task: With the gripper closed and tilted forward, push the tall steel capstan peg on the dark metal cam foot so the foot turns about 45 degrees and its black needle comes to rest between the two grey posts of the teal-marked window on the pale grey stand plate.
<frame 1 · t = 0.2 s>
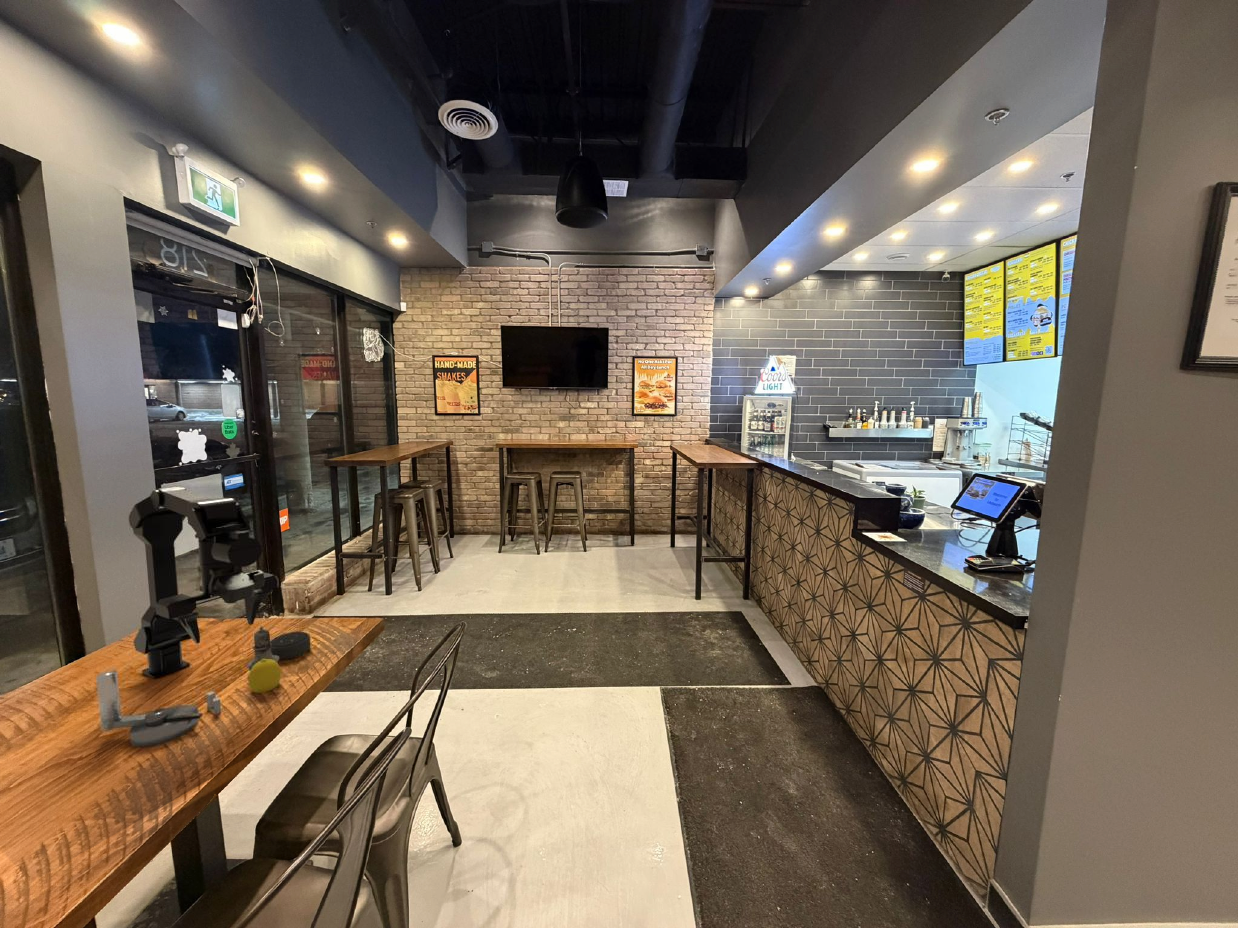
hand: (225, 633, 95), 15 cm above the table, tool pointing down, fingers open, 9 cm apart
smart speaker: (289, 654, 116), on the table
cam foot: (154, 700, 84), point 8 cm above the table, hinge at 0.0°
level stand: (158, 739, 84), on the table
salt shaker: (264, 676, 105), on the table
lemon: (266, 694, 99), on the table
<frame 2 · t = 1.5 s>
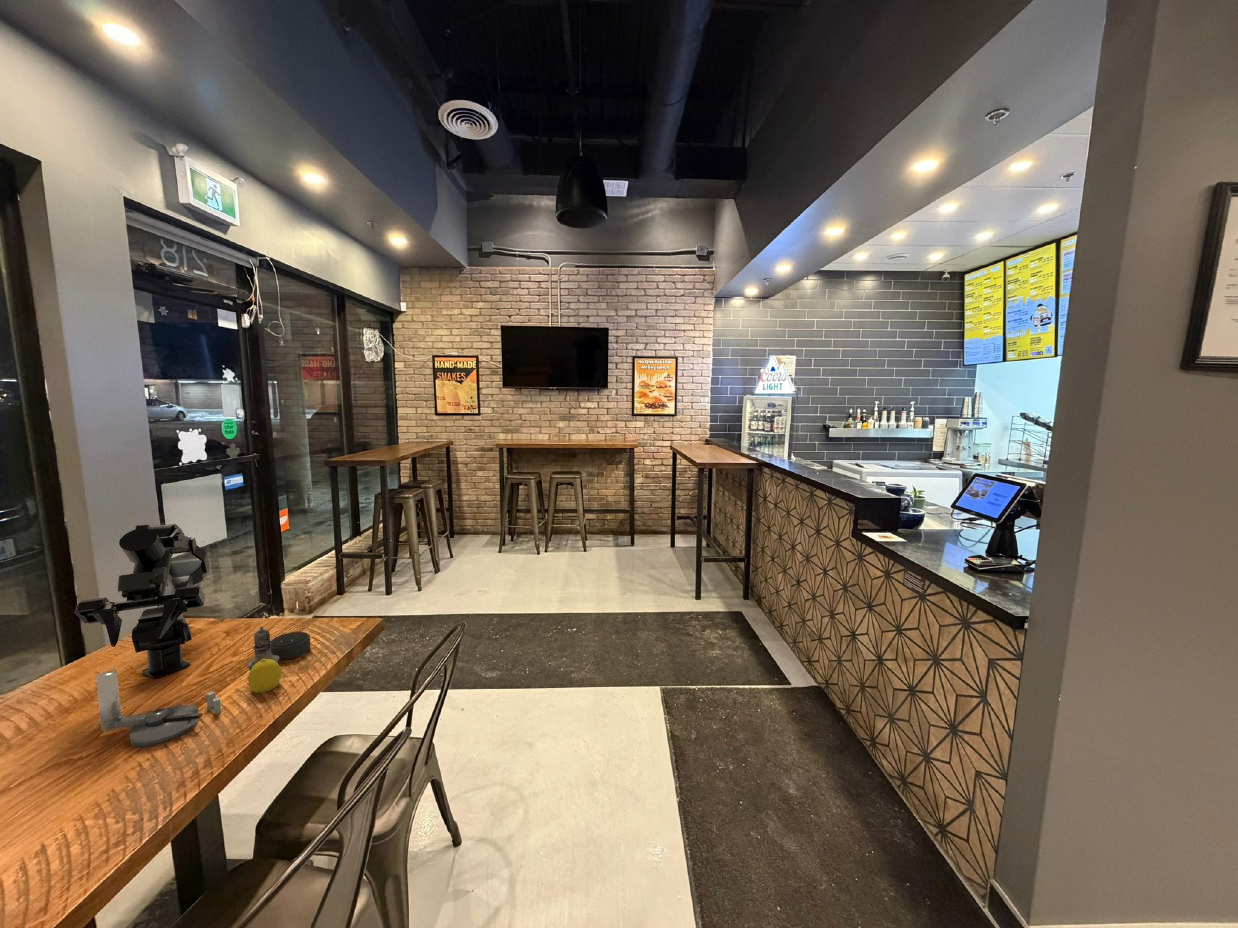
hand: (136, 641, 93), 14 cm above the table, tool tilted 45°, fingers open, 6 cm apart
nothing on the table moved.
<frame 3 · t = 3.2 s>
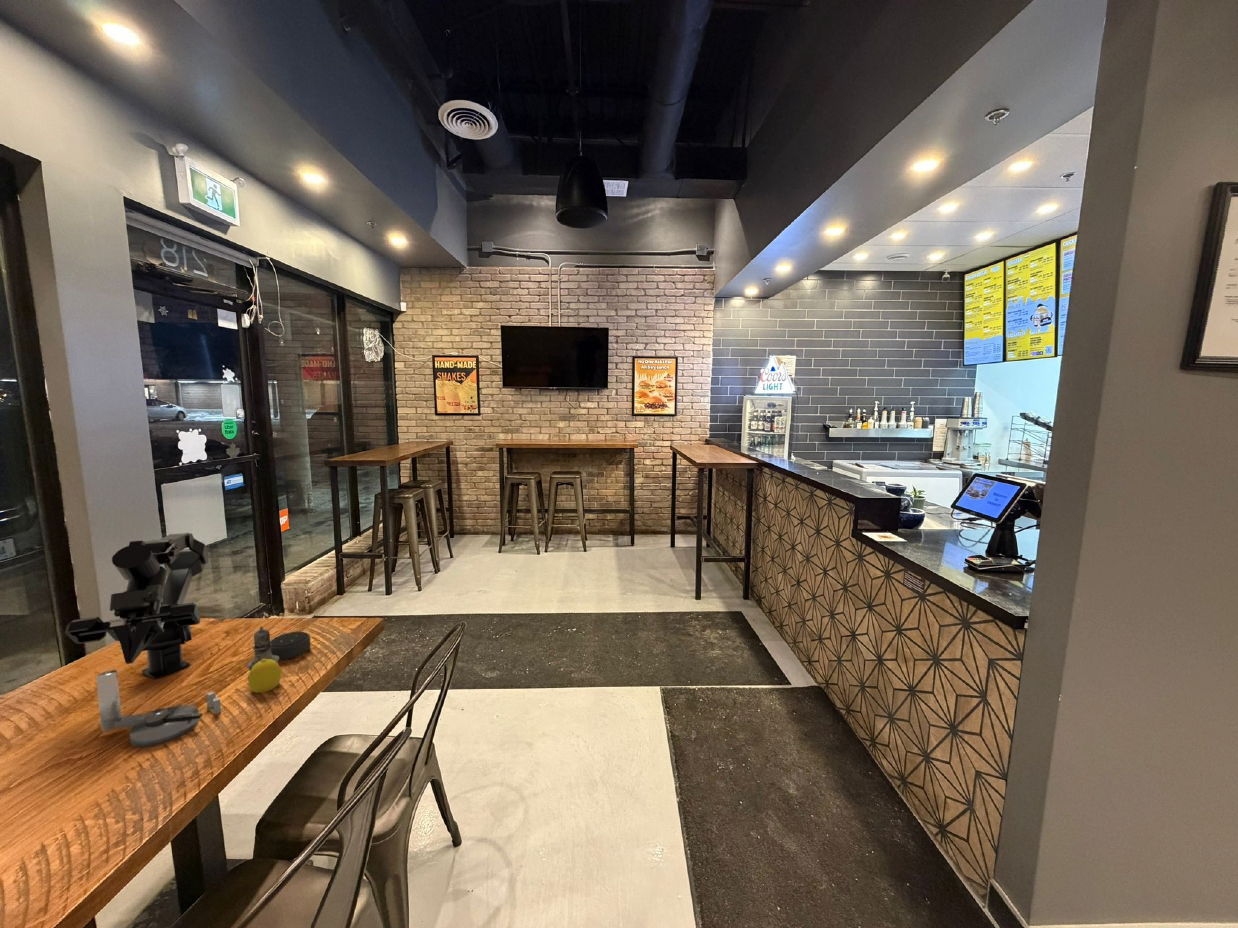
hand: (128, 662, 90), 11 cm above the table, tool tilted 45°, fingers closed
nothing on the table moved.
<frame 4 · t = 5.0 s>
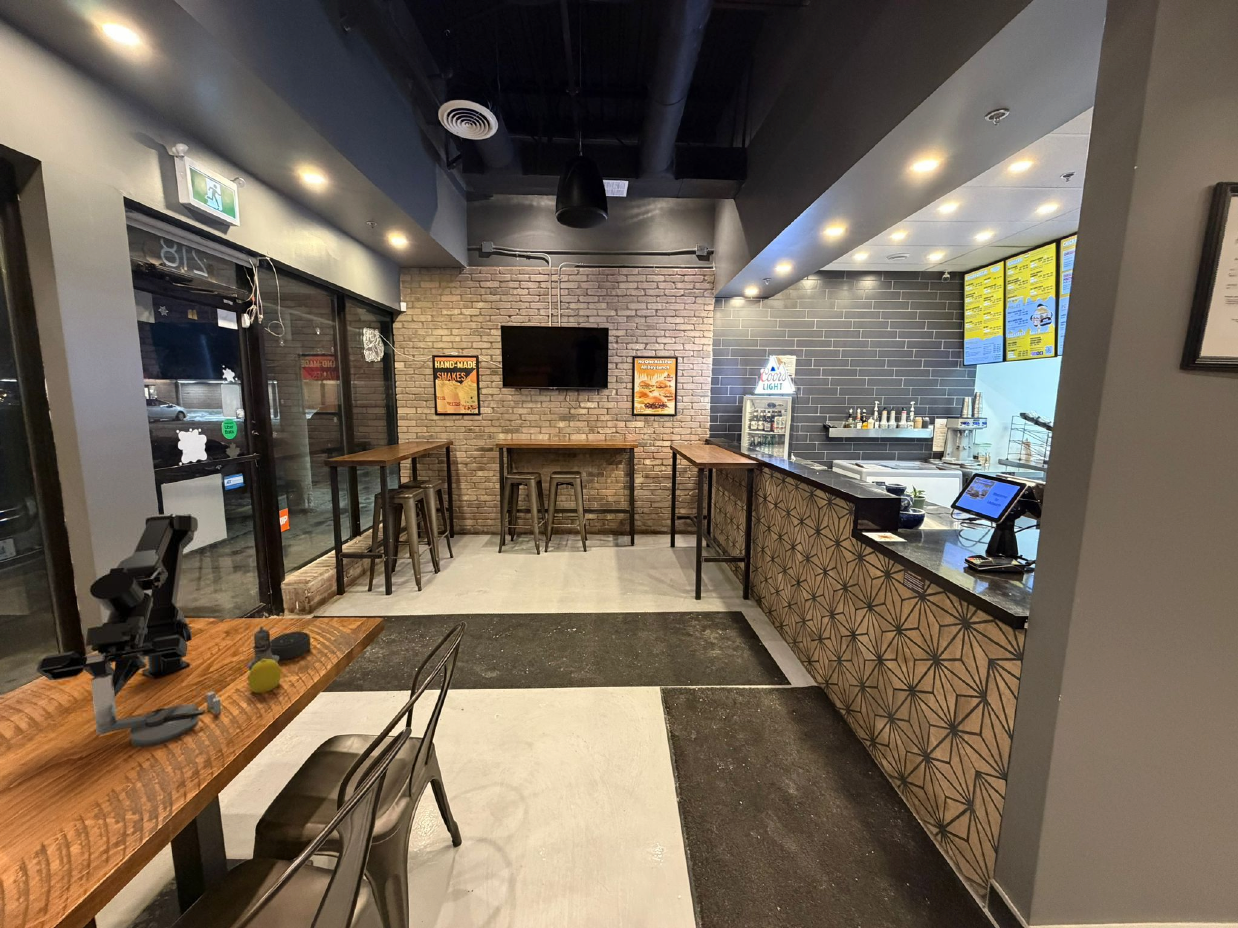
hand: (105, 703, 82), 8 cm above the table, tool tilted 45°, fingers closed, pressing on cam foot
cam foot: (153, 700, 84), point 7 cm above the table, hinge at 8.7°, touching gripper
everything else where it was.
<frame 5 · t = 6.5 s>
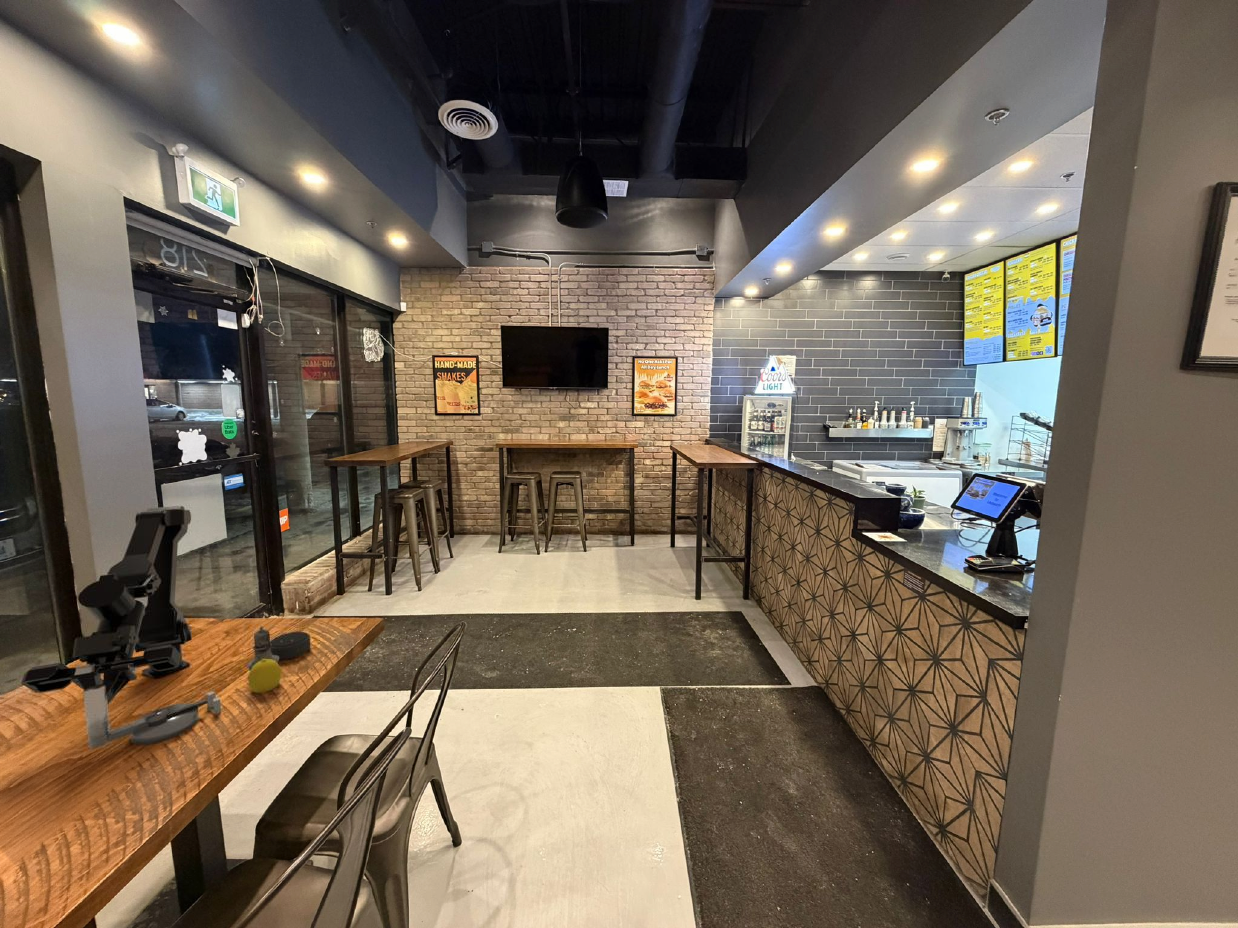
hand: (93, 717, 79), 8 cm above the table, tool tilted 45°, fingers closed
cam foot: (151, 701, 84), point 8 cm above the table, hinge at 43.9°, touching gripper
everything else where it was.
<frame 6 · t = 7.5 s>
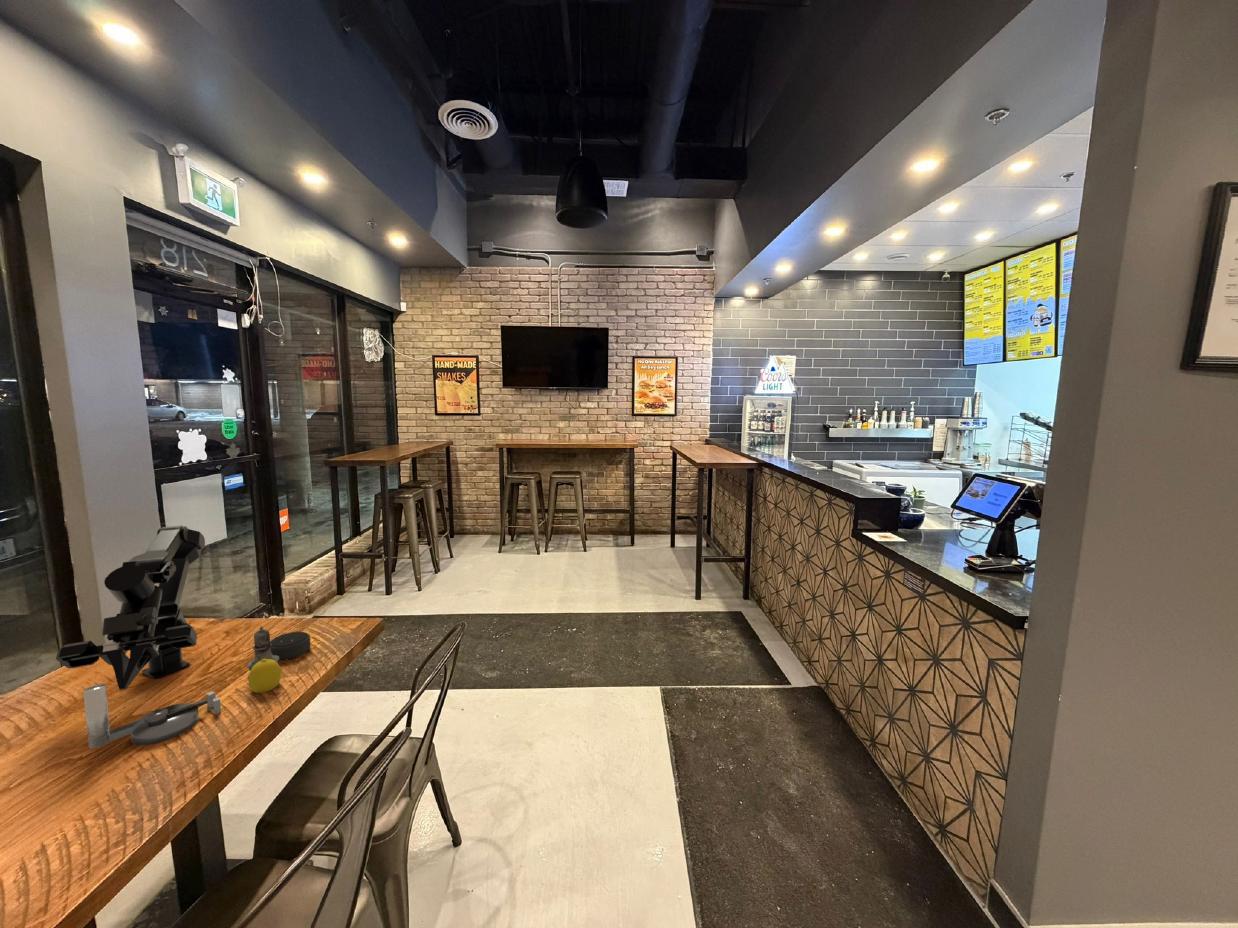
hand: (122, 688, 87), 8 cm above the table, tool tilted 45°, fingers closed
cam foot: (151, 701, 84), point 8 cm above the table, hinge at 44.0°
everything else where it was.
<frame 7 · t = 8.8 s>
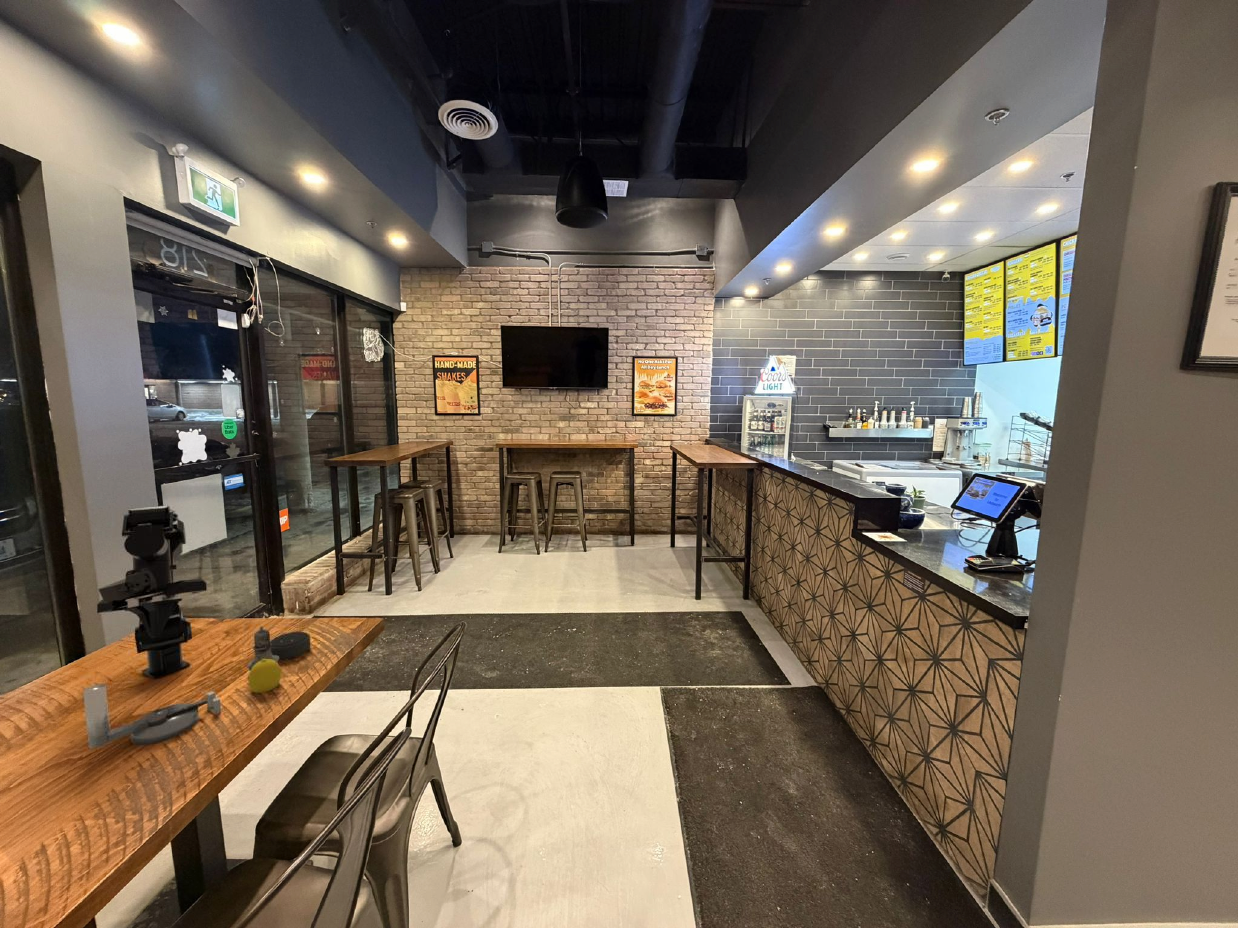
hand: (155, 636, 96), 14 cm above the table, tool tilted 20°, fingers closed
nothing on the table moved.
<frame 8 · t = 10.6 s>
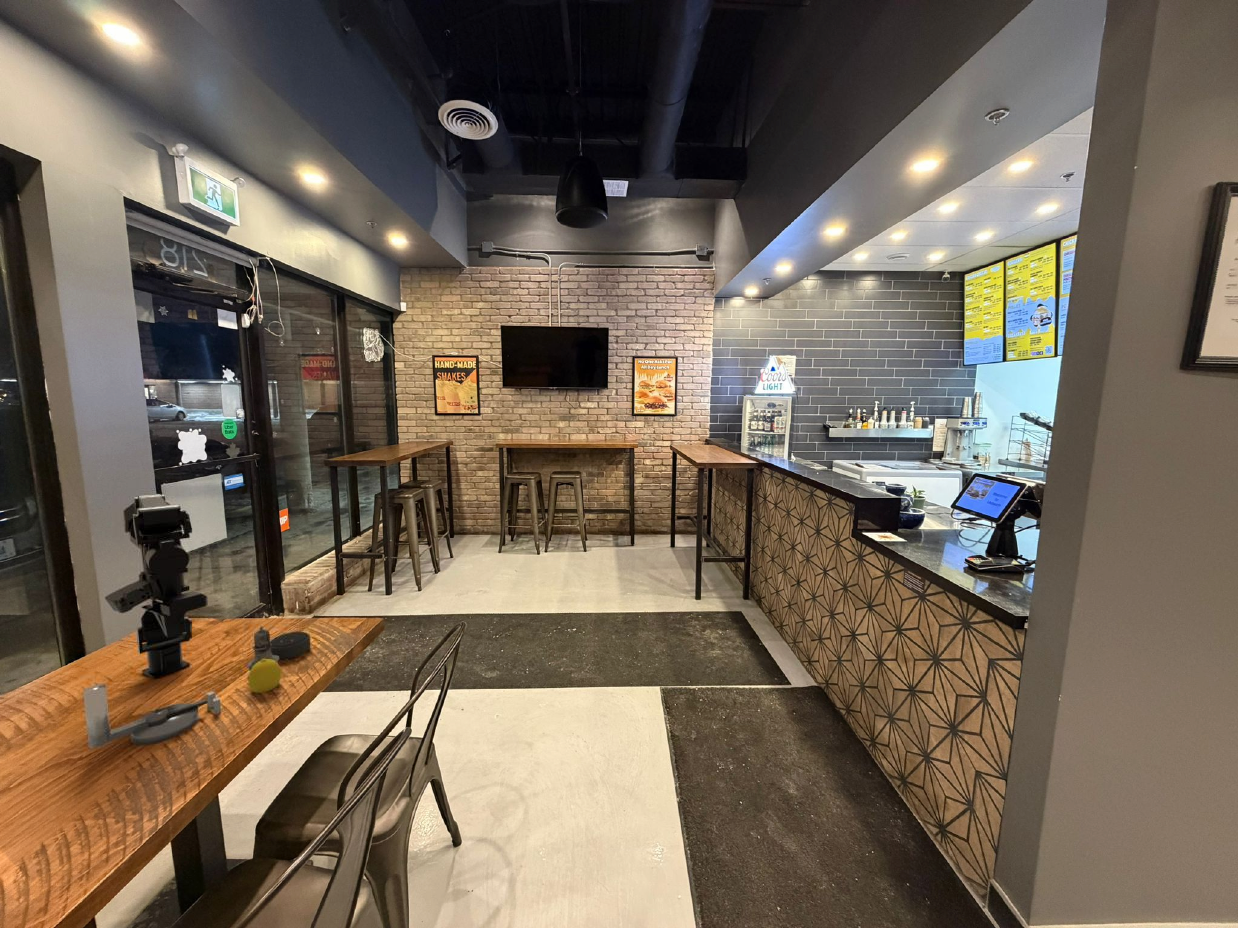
hand: (170, 635, 97), 13 cm above the table, tool pointing down, fingers closed
nothing on the table moved.
at the end: cam foot at +44° (first picture: +0°) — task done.
